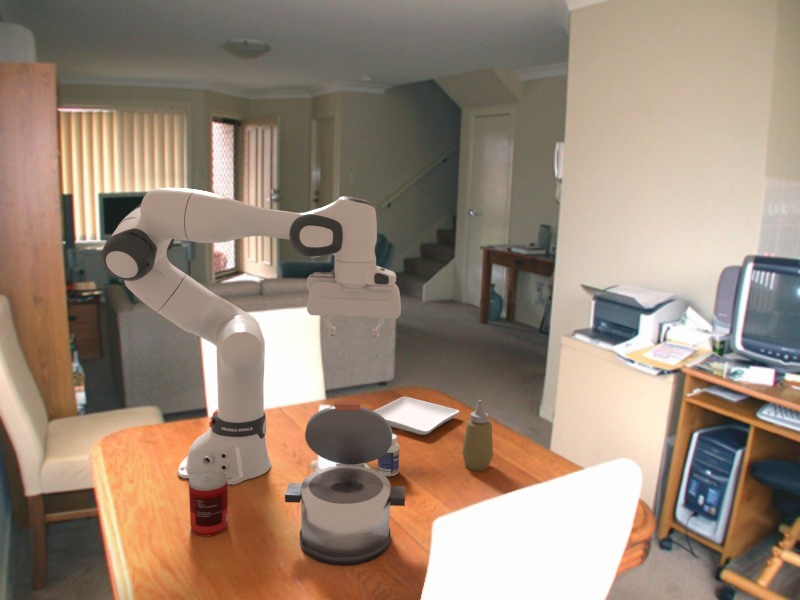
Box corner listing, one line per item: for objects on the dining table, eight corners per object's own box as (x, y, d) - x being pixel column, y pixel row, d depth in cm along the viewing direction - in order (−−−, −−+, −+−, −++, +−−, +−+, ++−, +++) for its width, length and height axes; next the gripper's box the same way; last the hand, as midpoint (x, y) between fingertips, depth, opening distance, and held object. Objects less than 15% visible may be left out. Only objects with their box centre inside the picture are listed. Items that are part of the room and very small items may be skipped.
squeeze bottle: (489, 459, 174) (493, 395, 171) (494, 473, 166) (499, 406, 163) (459, 459, 174) (462, 395, 170) (463, 473, 166) (466, 406, 162)
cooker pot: (278, 563, 126) (278, 506, 123) (295, 511, 145) (295, 460, 143) (403, 567, 126) (405, 510, 123) (403, 515, 145) (405, 464, 142)
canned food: (213, 513, 143) (212, 466, 141) (236, 526, 138) (235, 478, 136) (182, 527, 137) (180, 478, 135) (204, 541, 132) (203, 491, 130)
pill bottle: (396, 478, 162) (397, 441, 160) (375, 475, 163) (376, 439, 161) (400, 468, 167) (401, 433, 165) (380, 466, 168) (381, 430, 166)
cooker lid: (301, 404, 128) (302, 398, 129) (308, 463, 141) (309, 457, 142) (392, 407, 128) (392, 401, 129) (391, 465, 141) (391, 459, 142)
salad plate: (460, 419, 203) (461, 409, 202) (426, 442, 185) (427, 430, 184) (403, 405, 214) (403, 395, 213) (365, 425, 196) (365, 414, 195)
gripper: (304, 273, 137) (303, 337, 139) (401, 277, 136) (399, 342, 139) (309, 269, 143) (308, 330, 145) (402, 273, 142) (400, 334, 145)
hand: (353, 336), depth 142 cm, fingers open, 8 cm apart
